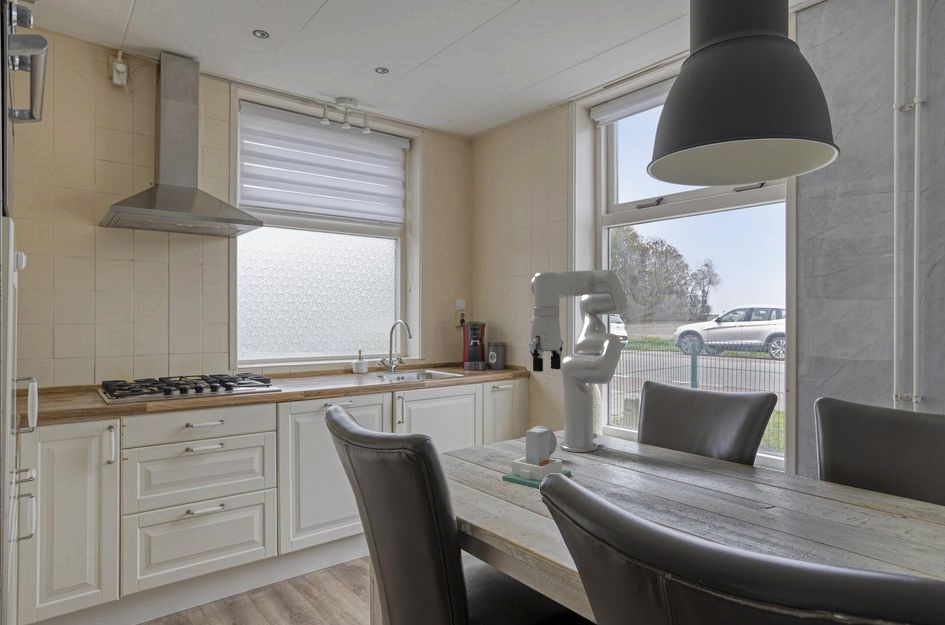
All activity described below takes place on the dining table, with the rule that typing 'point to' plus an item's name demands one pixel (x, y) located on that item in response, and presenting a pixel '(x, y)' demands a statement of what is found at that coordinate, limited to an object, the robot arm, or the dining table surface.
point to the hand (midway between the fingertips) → (547, 370)
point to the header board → (533, 472)
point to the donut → (552, 440)
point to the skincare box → (537, 446)
